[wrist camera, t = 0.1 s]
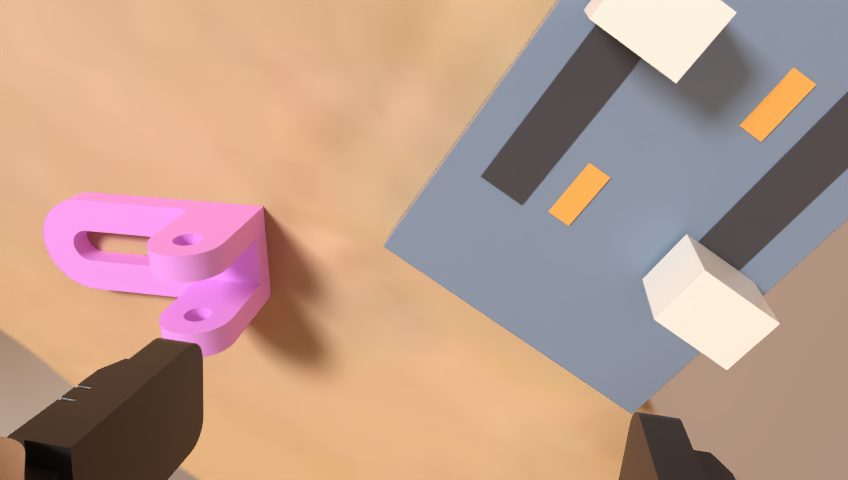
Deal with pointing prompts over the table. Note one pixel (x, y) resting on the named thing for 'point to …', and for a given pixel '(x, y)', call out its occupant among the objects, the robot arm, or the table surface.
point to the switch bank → (636, 181)
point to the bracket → (171, 259)
